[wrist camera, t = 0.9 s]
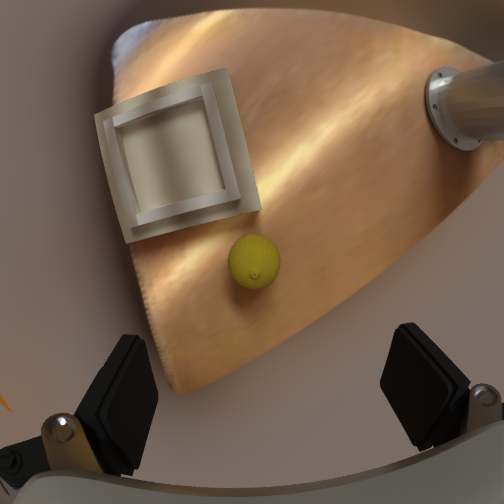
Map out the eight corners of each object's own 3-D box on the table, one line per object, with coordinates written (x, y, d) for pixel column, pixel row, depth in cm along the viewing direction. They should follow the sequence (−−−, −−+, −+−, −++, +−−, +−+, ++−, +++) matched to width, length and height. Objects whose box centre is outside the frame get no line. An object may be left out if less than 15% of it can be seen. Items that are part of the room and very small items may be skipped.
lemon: (285, 242, 34) (295, 265, 26) (261, 279, 35) (264, 310, 27) (245, 218, 33) (244, 235, 25) (222, 257, 34) (214, 284, 27)
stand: (229, 75, 28) (225, 62, 23) (260, 205, 32) (262, 211, 28) (105, 117, 29) (87, 113, 24) (135, 237, 33) (121, 247, 29)
